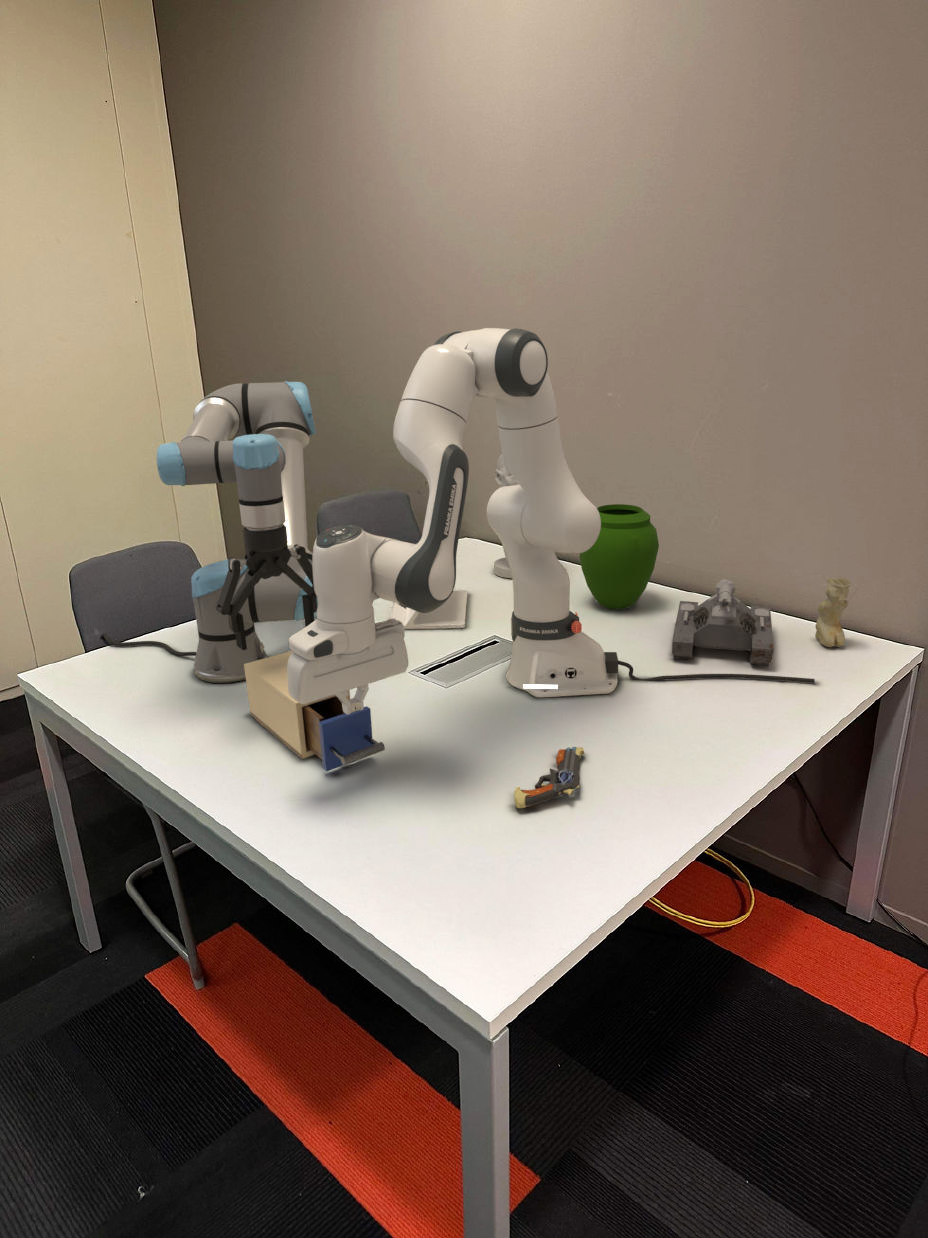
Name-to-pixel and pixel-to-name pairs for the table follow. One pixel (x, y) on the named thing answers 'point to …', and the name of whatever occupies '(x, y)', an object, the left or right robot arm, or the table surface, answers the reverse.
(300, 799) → the table surface
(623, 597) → the vase
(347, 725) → the drawer
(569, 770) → the toy gun
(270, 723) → the cabinet
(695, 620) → the toy
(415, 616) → the tablet stand
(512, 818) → the table surface
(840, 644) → the sculpture
